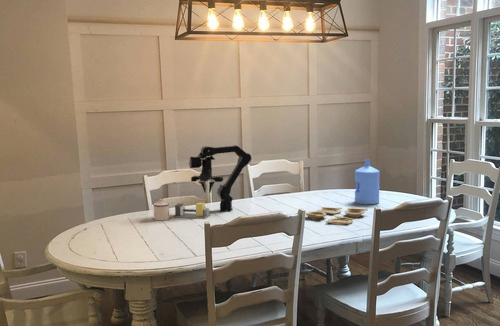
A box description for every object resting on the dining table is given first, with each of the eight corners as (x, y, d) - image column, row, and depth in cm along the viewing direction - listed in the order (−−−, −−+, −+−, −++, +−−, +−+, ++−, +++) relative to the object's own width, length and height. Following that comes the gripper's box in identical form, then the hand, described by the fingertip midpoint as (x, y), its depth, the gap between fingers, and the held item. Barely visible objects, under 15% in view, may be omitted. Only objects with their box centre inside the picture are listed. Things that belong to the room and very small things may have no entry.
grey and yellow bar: (210, 215, 276) (209, 203, 275) (206, 218, 268) (205, 206, 268) (179, 214, 280) (179, 202, 279) (174, 217, 272) (174, 205, 271)
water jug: (382, 201, 307) (383, 159, 304) (374, 205, 294) (375, 161, 291) (359, 199, 316) (359, 158, 312) (351, 203, 303) (351, 160, 299)
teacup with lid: (172, 219, 269) (171, 199, 267) (158, 221, 263) (157, 201, 262) (163, 215, 278) (162, 196, 277) (149, 217, 273) (148, 198, 271)
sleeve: (205, 214, 275) (204, 202, 274) (202, 215, 270) (202, 204, 270) (198, 213, 276) (198, 202, 275) (196, 215, 271) (195, 204, 270)
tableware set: (325, 208, 290) (325, 202, 289) (370, 214, 273) (370, 207, 272) (297, 220, 261) (297, 213, 261) (345, 228, 244) (345, 220, 244)
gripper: (187, 168, 275) (188, 194, 277) (218, 169, 272) (219, 195, 274) (193, 166, 286) (194, 191, 288) (223, 166, 283) (223, 192, 284)
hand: (207, 192), depth 283 cm, fingers open, 3 cm apart
